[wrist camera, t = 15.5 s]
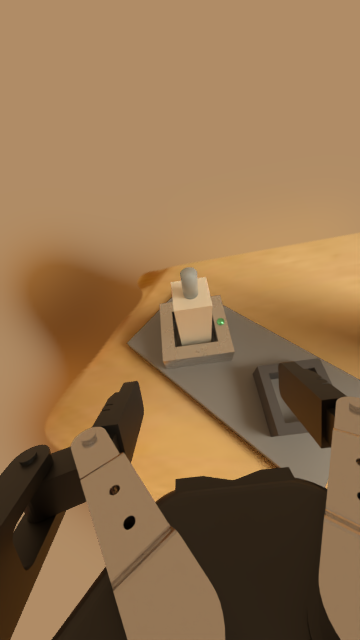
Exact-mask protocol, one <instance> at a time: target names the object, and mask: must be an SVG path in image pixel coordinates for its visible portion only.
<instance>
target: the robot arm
mask: <svg viewBox="0 0 360 640" xmlns="http://www.w3.org/2000/svg"><path fill="white" fill-rule="evenodd" d="M278 375H279V391H280V395H281V397H282V399H283V401H284V402H285V403H286V404H287V406H288V407H289V408H290V409H291V411H292V412H293V413H294V415H295V416H296V417H297V418H298V420H299V421H300V422H301V423H302V425H303V426H304V427H305V429H306V430H307V431H308V432H309V434H310V435H311V436H312V437H313V439H314V440H315V441H316V443H317V444H318V445H319V446H320V448H321V449H322V448H331V456H330V467H329V478H328V489H326V488H324V487H323V486H320V485H318V484H316V483H313V482H310V481H308V480H304V479H300V478H295V477H294V476H293V474H292V472H291V470H290V468H289V467H283V468H274V469H265V470H259V471H257V472H254V473H251V474H249V475H246V476H244V477H241V478H239V479H236V480H226V479H219V478H212V477H205V476H200V477H191V478H182V479H176V488H175V490H174V491H172V492H170V493H168V494H166V495H164V496H163V497H161V498H160V499H159V500H157V501H156V502H155V501H154V500H153V498H152V496H151V495H150V493H149V492H148V490H147V489H146V487H145V485H144V484H143V482H142V481H141V479H140V477H139V476H138V474H137V473H136V471H135V469H134V468H133V466H132V465H131V461H132V457H133V453H134V449H135V446H136V442H137V438H138V434H139V431H140V427H141V423H142V419H143V415H144V407H143V401H142V397H141V392H140V387H139V383H138V381H134V382H126V383H124V384H123V386H122V387H121V389H120V391H119V392H116V393H114V394H113V395H112V396H111V397H110V398H109V399H108V400H107V402H106V404H105V406H104V407H103V409H102V411H101V413H100V414H99V416H98V418H97V420H96V421H95V423H94V425H93V426H92V428H89V429H87V430H85V431H83V432H82V433H80V434H79V435H78V436H77V437H76V438H75V439H74V440H73V442H72V444H71V447H68V448H66V449H63V450H60V451H57V452H55V453H52V454H51V452H50V449H49V447H48V446H46V445H38V446H35V447H32V448H30V449H28V450H26V451H24V452H23V453H21V454H20V455H19V456H17V457H16V458H15V459H14V460H13V461H12V462H11V463H10V464H9V466H8V467H7V468H6V469H5V470H4V472H3V473H2V474H1V475H0V640H10V639H11V637H12V634H13V632H14V630H15V627H16V625H17V623H18V620H19V618H20V616H21V614H22V611H23V609H24V607H25V604H26V602H27V600H28V597H29V595H30V593H31V590H32V588H33V586H34V583H35V581H36V579H37V577H38V574H39V572H40V570H41V567H42V565H43V563H44V560H45V558H46V556H47V554H48V551H49V549H50V546H51V544H52V542H53V540H54V537H55V535H56V533H57V530H58V528H59V526H60V524H61V521H62V519H63V517H64V514H65V512H66V510H68V509H70V508H72V507H75V506H77V505H79V504H82V503H84V502H86V501H87V504H88V508H89V511H90V514H91V518H92V521H93V525H94V528H95V531H96V535H97V538H98V542H99V545H100V548H101V551H102V555H103V558H104V561H105V565H106V567H105V568H104V570H103V571H102V572H101V574H100V575H99V576H98V578H97V579H96V580H95V582H94V583H93V584H92V586H91V587H90V588H89V590H88V591H87V593H86V594H85V595H84V597H83V598H82V599H81V601H80V602H79V603H78V605H77V606H76V607H75V609H74V610H73V612H72V613H71V614H70V616H69V617H68V618H67V620H66V621H65V622H64V624H63V625H62V626H61V628H60V629H59V630H58V632H57V633H56V635H55V636H54V637H53V639H52V640H360V398H358V397H347V396H346V395H345V394H343V393H342V392H341V391H339V390H338V389H337V388H335V387H334V386H333V385H332V384H329V382H328V381H326V380H325V379H323V378H322V377H321V376H320V375H318V374H317V373H315V372H313V371H311V370H308V369H303V368H302V367H301V366H299V365H298V364H297V363H296V362H294V361H291V362H283V363H279V365H278ZM23 512H24V513H25V515H24V516H23V518H22V520H21V521H20V523H19V524H18V526H17V528H16V529H15V526H16V524H17V522H18V520H19V519H20V517H21V515H22V514H23ZM14 529H15V531H14ZM13 532H14V533H13Z"/></svg>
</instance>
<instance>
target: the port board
mask: <svg viewBox="0 0 360 640" xmlns="http://www.w3.org/2000/svg"><path fill="white" fill-rule="evenodd" d="M169 302H173V298H171V299H170V300H169V301H168V302H167V303H169ZM223 308H224V312H225V316H226V320H227V324H228V328H229V331H230V335H231V339H232V343H233V347H234V351H235V353H234V356H233V360H232V361H225V362H217V363H210V364H202V365H195V366H187V367H180V368H172V369H166V367H165V365H164V363H163V355H162V338H161V320H160V310H159V311H158V312H157V313H156V314H155V315H154V316H153V317H152V318H151V319H150V320H149V321H148V322H147V323H146V324H145V325H144V326H143V327H142V328H141V329H140V330H139V331H138V332H137V333H136V334H135V335H134V337H133V338H132V339H131V340H130V341H129V342H128V343H127V344H128V345H129V346H130V348H132V349H133V350H134V351H135V352H137V353H138V354H139V355H140V356H141V357H143V358H144V359H145V360H146V361H148V362H149V363H150V364H151V365H152V366H154V367H155V368H156V369H157V370H159V371H160V372H161V373H162V374H164V375H165V376H166V377H167V378H168V379H170V380H171V381H172V382H173V383H175V384H176V385H177V386H178V387H180V388H181V389H182V390H183V391H184V392H186V393H187V394H188V395H189V396H191V397H192V398H193V399H194V400H196V401H197V402H198V403H199V404H200V405H202V406H203V407H204V408H205V409H207V410H208V411H209V412H210V413H211V414H213V415H214V416H215V417H216V418H218V419H219V420H220V421H221V422H223V423H224V424H225V425H226V426H227V427H229V428H230V429H231V430H232V431H234V432H235V433H236V434H237V435H239V436H240V437H241V438H242V439H243V440H245V441H246V442H247V443H248V444H250V445H251V446H252V447H253V448H254V449H256V450H257V451H258V452H259V453H261V454H262V455H263V456H264V457H266V458H267V459H268V460H269V461H270V462H272V463H273V464H274V465H275V466H277V467H278V468H283V467H289V468H290V470H291V472H292V474H293V476H294V477H295V478H300V479H304V480H308V481H310V482H313V483H316V484H318V485H320V486H323V487H324V488H325V486H326V483H327V481H328V478H329V467H330V456H331V448H322V449H321V448H320V446H319V445H318V444H317V443H316V441H315V440H314V439H313V437H312V436H311V435H310V434H309V433H302V434H293V435H285V436H276V437H271V436H270V432H269V429H268V425H267V422H266V418H265V415H264V411H263V408H262V404H261V401H260V398H259V394H258V391H257V387H256V384H255V380H254V377H253V373H254V371H255V369H256V368H257V366H262V365H270V364H277V363H283V362H291V361H300V360H308V359H316V358H319V357H317V356H315V355H313V354H311V353H310V352H308V351H306V350H304V349H302V348H300V347H299V346H297V345H295V344H293V343H291V342H289V341H288V340H286V339H284V338H282V337H280V336H279V335H277V334H275V333H273V332H271V331H269V330H268V329H266V328H264V327H262V326H260V325H258V324H257V323H255V322H253V321H251V320H249V319H247V318H246V317H244V316H242V315H240V314H238V313H236V312H235V311H233V310H231V309H229V308H227V307H226V306H224V305H223ZM175 332H176V342H177V347H181V346H182V344H181V339H180V335H179V331H178V327H177V323H176V322H175ZM211 342H215V337H214V332H213V328H212V332H211ZM320 360H321V362H322V364H323V366H324V368H325V370H326V372H327V374H328V377H329V379H330V381H331V383H332V385H333V386H334V387H335V388H337V389H338V390H339V391H341V392H342V393H343V394H345V395H346V396H347V397H358V398H360V380H359V379H357V378H355V377H353V376H352V375H350V374H348V373H346V372H344V371H342V370H341V369H339V368H337V367H335V366H333V365H332V364H330V363H328V362H326V361H324V360H322V359H321V358H320ZM271 382H272V385H273V388H274V391H275V394H276V397H277V400H278V403H279V406H280V409H281V412H282V415H283V418H284V421H285V423H291V422H300V421H299V420H298V418H297V417H296V416H295V415H294V413H293V412H292V411H291V409H290V408H289V407H288V406H287V404H286V403H285V402H284V401H283V399H282V397H281V395H280V391H279V379H272V380H271Z"/></svg>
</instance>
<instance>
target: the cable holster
mask: <svg viewBox="0 0 360 640" xmlns="http://www.w3.org/2000/svg"><path fill="white" fill-rule="evenodd" d="M294 362H296V363H297V364H298V365H299V366H301V367H302V368H303V369H308V370H311V371H313V372H315V373H317V374H318V375H320V376H321V377H322V378H323V379H325V380H326V381H328V382H329V384H332V383H331V381H330V379H329V377H328V374H327V372H326V370H325V368H324V366H323V364H322V362H321V360H320V358H316V359H308V360H300V361H294ZM278 365H279V363H277V364H270V365H262V366H257V368H256V369H255V371H254V373H253V377H254V380H255V384H256V387H257V391H258V394H259V398H260V401H261V404H262V408H263V411H264V415H265V418H266V422H267V425H268V429H269V432H270V436H271V437H276V436H285V435H293V434H302V433H309V432H308V431H307V430H306V429H305V427H304V426H303V425H302V423H301V422H291V423H285V421H284V418H283V415H282V412H281V409H280V406H279V403H278V400H277V397H276V394H275V391H274V388H273V385H272V382H271V380H272V379H279V375H278Z"/></svg>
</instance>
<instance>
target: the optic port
mask: <svg viewBox="0 0 360 640" xmlns="http://www.w3.org/2000/svg"><path fill="white" fill-rule="evenodd" d="M211 301H212V305H213V306H212V328H213V332H214V337H215V342H210V343H202V344H195V345H188V346H181V347H177V342H176V332H175V322H176V318H175V314H174V308H173V302H169V303H163V304H160V320H161V338H162V355H163V363H164V365H165V367H166V369H172V368H180V367H187V366H195V365H202V364H210V363H217V362H225V361H232V360H233V356H234V353H235V351H234V347H233V343H232V339H231V335H230V331H229V328H228V324H227V320H226V316H225V312H224V308H223V304H222V300H221V296H220V295H217V296H211Z"/></svg>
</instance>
